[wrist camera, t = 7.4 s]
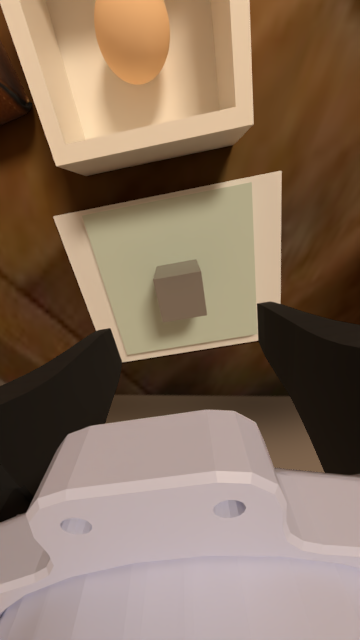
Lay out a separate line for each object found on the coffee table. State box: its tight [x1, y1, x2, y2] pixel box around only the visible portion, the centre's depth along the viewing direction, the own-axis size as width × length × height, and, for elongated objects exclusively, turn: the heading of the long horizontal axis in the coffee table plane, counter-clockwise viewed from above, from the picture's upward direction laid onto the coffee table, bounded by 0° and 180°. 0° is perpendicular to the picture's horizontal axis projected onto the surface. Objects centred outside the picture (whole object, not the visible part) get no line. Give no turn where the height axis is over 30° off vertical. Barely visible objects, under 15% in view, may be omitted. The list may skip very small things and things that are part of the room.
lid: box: [82, 182, 257, 355], centre depth 17 cm, size 12×12×4 cm
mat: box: [53, 171, 282, 362], centre depth 19 cm, size 16×13×1 cm
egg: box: [94, 0, 170, 85], centre depth 12 cm, size 4×4×4 cm
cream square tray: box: [0, 0, 254, 176], centre depth 12 cm, size 10×10×4 cm
